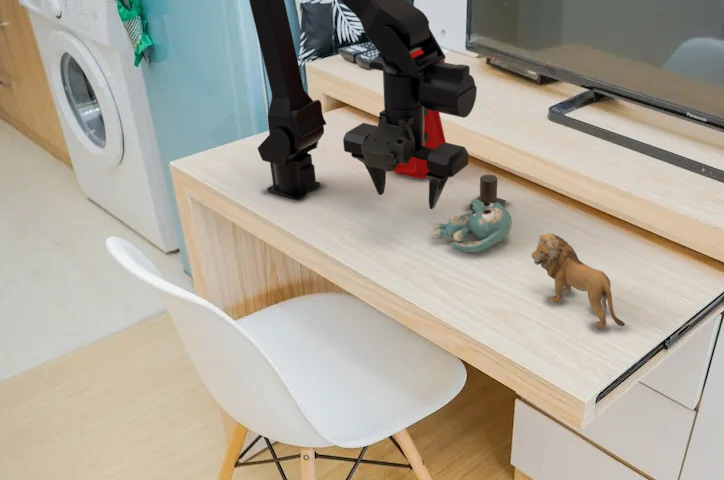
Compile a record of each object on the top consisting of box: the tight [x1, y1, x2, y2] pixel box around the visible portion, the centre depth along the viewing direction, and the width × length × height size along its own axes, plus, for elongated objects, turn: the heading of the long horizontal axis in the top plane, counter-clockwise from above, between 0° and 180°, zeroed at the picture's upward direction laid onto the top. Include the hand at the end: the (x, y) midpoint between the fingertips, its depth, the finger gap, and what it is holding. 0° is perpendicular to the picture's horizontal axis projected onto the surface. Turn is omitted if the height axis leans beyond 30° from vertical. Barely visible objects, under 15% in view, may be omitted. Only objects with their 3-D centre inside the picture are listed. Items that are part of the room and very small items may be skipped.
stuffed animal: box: [432, 198, 513, 254], centre depth 118 cm, size 11×7×12 cm
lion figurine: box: [530, 232, 626, 330], centre depth 103 cm, size 15×5×9 cm, turn 50°
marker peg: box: [469, 174, 507, 211], centre depth 128 cm, size 4×4×5 cm
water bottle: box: [392, 49, 447, 180], centre depth 132 cm, size 9×11×25 cm
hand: (406, 201), depth 123 cm, fingers open, 9 cm apart
